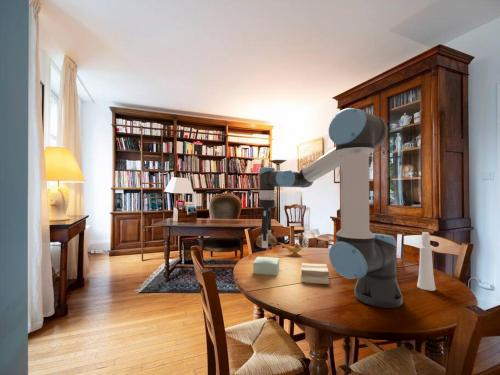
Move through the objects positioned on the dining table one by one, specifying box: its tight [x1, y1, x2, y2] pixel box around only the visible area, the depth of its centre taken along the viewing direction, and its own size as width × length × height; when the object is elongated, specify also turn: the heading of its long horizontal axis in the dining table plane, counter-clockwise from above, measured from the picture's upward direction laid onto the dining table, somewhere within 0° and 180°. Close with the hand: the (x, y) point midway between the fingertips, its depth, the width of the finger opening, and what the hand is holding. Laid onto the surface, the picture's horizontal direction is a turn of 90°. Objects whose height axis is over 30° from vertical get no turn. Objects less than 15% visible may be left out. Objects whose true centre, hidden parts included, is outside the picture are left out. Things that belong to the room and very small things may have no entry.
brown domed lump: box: [255, 233, 278, 249], centre depth 117 cm, size 10×10×8 cm
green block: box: [252, 256, 280, 276], centre depth 117 cm, size 11×11×5 cm
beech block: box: [301, 262, 330, 285], centre depth 107 cm, size 11×11×5 cm
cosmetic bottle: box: [416, 231, 437, 292], centre depth 97 cm, size 6×6×22 cm
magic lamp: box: [279, 237, 309, 257], centre depth 148 cm, size 7×18×11 cm, turn 71°
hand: (266, 245), depth 118 cm, fingers closed on brown domed lump, 10 cm apart
